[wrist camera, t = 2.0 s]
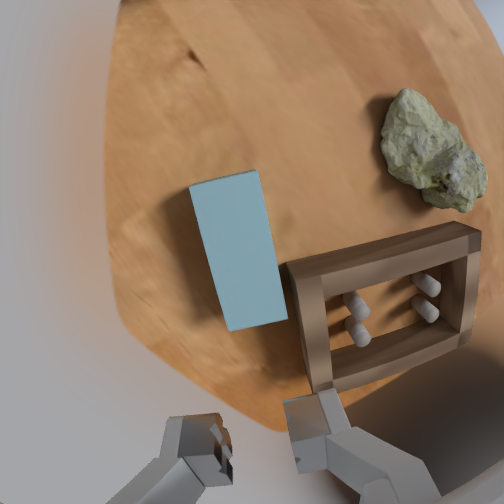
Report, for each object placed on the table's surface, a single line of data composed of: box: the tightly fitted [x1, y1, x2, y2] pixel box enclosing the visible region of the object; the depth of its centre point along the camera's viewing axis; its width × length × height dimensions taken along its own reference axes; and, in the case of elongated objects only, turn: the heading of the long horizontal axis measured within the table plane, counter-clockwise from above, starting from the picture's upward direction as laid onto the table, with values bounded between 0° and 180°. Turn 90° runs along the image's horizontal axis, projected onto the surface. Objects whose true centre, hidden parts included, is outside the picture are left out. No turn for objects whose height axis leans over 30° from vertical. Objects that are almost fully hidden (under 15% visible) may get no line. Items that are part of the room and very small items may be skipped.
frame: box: [286, 221, 481, 393], centre depth 26 cm, size 13×19×4 cm
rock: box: [380, 88, 487, 213], centre depth 22 cm, size 11×6×10 cm
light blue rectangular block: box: [189, 169, 288, 331], centre depth 24 cm, size 12×5×4 cm, turn 12°
